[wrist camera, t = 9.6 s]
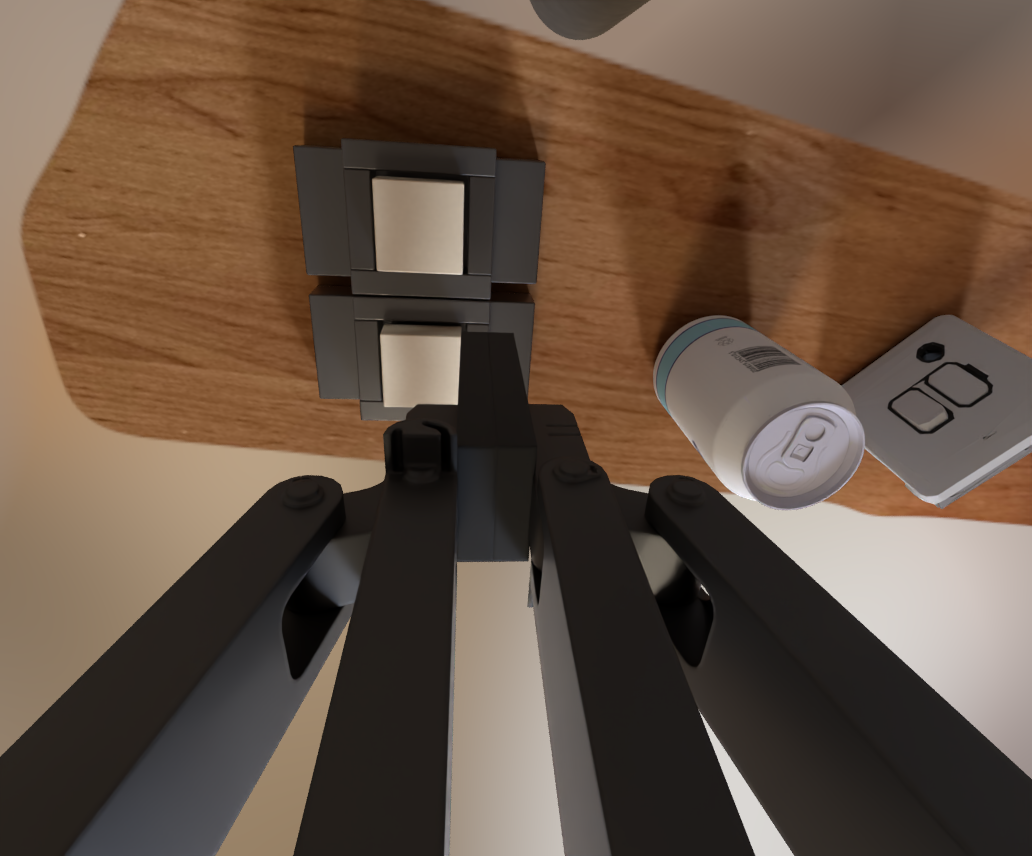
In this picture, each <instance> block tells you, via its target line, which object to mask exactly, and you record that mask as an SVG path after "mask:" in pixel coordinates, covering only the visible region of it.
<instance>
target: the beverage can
mask: <svg viewBox="0 0 1032 856" xmlns="http://www.w3.org/2000/svg"><path fill="white" fill-rule="evenodd" d="M653 383H654V389H655V392H656V395H657V397H658V399H659V401H660V402H661V404H662V405H663V406H664V408H665V409H666V410H667V411H668V413H669V414H670V415H671V417H672V418H673V419H674V421H675V422H676V423H677V425H678V426H679V427H680V428H681V430H682V431H683V432H684V434H685V435H686V436H687V438H688V439H689V440H690V442H691V443H692V444H693V446H694V447H695V448H696V449H697V451H698V452H699V453H700V455H701V456H702V457H703V459H704V460H705V461H706V463H707V464H708V465H709V466H710V468H711V469H712V470H713V472H714V473H715V474H716V476H717V477H718V478H719V480H720V481H721V482H722V483H723V484H724V485H725V486H726V487H727V488H728V489H729V490H730V491H732V492H733V493H735V494H737V495H738V496H741V497H743V498H746V499H749V500H753V501H758V502H759V503H761V504H762V505H764V506H767V507H770V508H773V509H778V510H796V509H802V508H805V507H809V506H812V505H814V504H817V503H819V502H821V501H823V500H825V499H827V498H829V497H830V496H832V495H833V494H834V493H836V492H837V491H838V490H840V489H841V488H842V487H843V486H844V485H845V484H846V483H847V482H848V481H849V479H850V478H851V477H852V476H853V474H854V473H855V471H856V470H857V468H858V466H859V464H860V462H861V459H862V457H863V453H864V448H865V434H864V430H863V427H862V425H861V423H860V421H859V420H858V418H857V417H856V412H855V408H854V404H853V402H852V400H851V398H850V396H849V395H848V393H847V392H846V390H845V389H844V388H843V387H842V386H841V385H840V384H838V383H837V382H836V381H834V380H833V379H831V378H830V377H828V376H827V375H825V374H823V373H822V372H820V371H819V370H817V369H816V368H814V367H813V366H811V365H809V364H808V363H806V362H805V361H803V360H802V359H800V358H799V357H797V356H795V355H794V354H792V353H791V352H789V351H788V350H786V349H785V348H783V347H781V346H780V345H778V344H777V343H775V342H774V341H772V340H771V339H769V338H767V337H766V336H764V335H763V334H761V333H760V332H758V331H757V330H755V329H753V328H752V327H750V326H749V325H747V324H746V323H744V322H743V321H741V320H739V319H736V318H733V317H729V316H722V315H715V316H707V317H703V318H700V319H697V320H694V321H692V322H690V323H688V324H686V325H685V326H683V327H682V328H680V329H679V330H678V331H676V332H675V333H674V334H673V335H672V336H671V337H670V338H669V339H668V340H667V342H666V343H665V344H664V346H663V347H662V349H661V351H660V353H659V355H658V357H657V359H656V362H655V366H654V372H653Z"/></svg>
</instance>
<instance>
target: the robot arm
mask: <svg viewBox="0 0 1032 856" xmlns="http://www.w3.org/2000/svg"><path fill="white" fill-rule="evenodd" d="M383 438H384V453H385V468H386V475H385V479H384V481H383V482H381V483H380V484H378V485H376V486H373V487H371V488H368V489H363V490H360V491H355V492H349V493H344V494H343V491H342V487H341V485H340V484H339V483H338V482H336V481H335V480H334V479H331V478H328V477H324V476H313V475H312V476H311V475H305V476H298V477H294V478H290V479H288V480H285V481H283V482H280V483H278V484H276V485H275V486H274V487H272V488H271V489H269V490H268V491H267V492H266V493H265V494H264V495H263V496H262V497H261V498H260V499H259V500H258V501H257V502H256V503H255V504H254V505H253V506H252V507H251V508H250V509H249V510H248V511H247V512H246V513H245V514H244V515H243V516H242V517H241V518H240V519H239V520H238V521H237V522H236V523H235V524H234V525H233V526H232V527H231V528H230V529H229V530H228V531H227V532H226V533H225V534H224V535H223V536H222V537H221V538H220V539H219V540H218V541H217V542H216V543H215V544H214V545H213V546H212V547H211V548H210V549H209V550H208V551H207V552H206V553H205V554H204V555H203V556H202V557H201V558H200V559H199V560H198V561H197V562H196V563H195V564H194V565H193V566H192V567H191V568H190V569H189V570H188V571H187V572H186V573H185V574H184V575H183V576H182V577H181V578H180V579H178V580H177V581H176V583H174V585H172V587H170V588H169V590H167V591H166V592H165V593H164V594H163V595H162V597H161V598H159V599H158V600H157V601H156V602H155V603H154V604H153V605H152V606H151V607H150V608H149V609H148V610H147V611H146V612H145V614H144V615H142V616H141V617H140V618H139V619H138V620H137V621H136V622H135V623H134V624H133V626H132V627H130V628H129V629H128V630H127V631H126V632H125V633H124V634H123V635H122V636H121V637H120V638H119V639H118V640H117V641H116V642H115V643H114V644H113V645H112V646H111V647H110V648H109V649H108V650H107V651H106V652H105V653H104V654H103V655H102V656H101V657H100V658H99V659H98V660H97V661H96V662H95V663H94V664H93V665H92V666H91V667H90V668H89V669H88V670H87V671H86V672H85V673H84V674H83V675H82V676H81V677H80V678H79V679H78V680H77V681H76V682H75V683H74V684H73V685H72V686H71V687H70V688H69V689H68V690H67V691H66V692H65V693H64V694H63V695H62V696H61V697H60V698H59V699H58V700H57V701H56V702H55V703H54V704H53V705H52V706H51V707H50V708H49V709H48V710H47V711H46V712H45V713H44V714H43V715H42V716H41V717H40V718H39V719H38V720H37V721H36V722H35V723H34V724H33V725H32V726H31V727H30V728H29V729H28V730H27V731H26V732H25V733H24V734H23V735H22V736H21V737H20V738H19V739H18V740H17V741H16V742H15V743H14V744H13V745H12V746H11V747H10V748H9V749H8V750H7V751H6V752H5V753H4V754H3V755H2V756H1V757H0V856H215V855H216V853H217V852H218V850H219V848H220V846H221V845H222V843H223V841H224V839H225V838H226V836H227V834H228V832H229V830H230V828H231V827H232V825H233V823H234V822H235V820H236V818H237V816H238V815H239V813H240V811H241V809H242V807H243V806H244V804H245V802H246V801H247V799H248V797H249V795H250V793H251V792H252V790H253V788H254V786H255V785H256V783H257V781H258V779H259V778H260V776H261V774H262V772H263V770H264V769H265V767H266V765H267V763H268V762H269V760H270V758H271V756H272V755H273V753H274V751H275V749H276V748H277V746H278V744H279V742H280V741H281V739H282V737H283V735H284V733H285V732H286V730H287V728H288V726H289V725H290V723H291V721H292V719H293V718H294V716H295V714H296V712H297V710H298V709H299V707H300V705H301V703H302V702H303V700H304V698H305V696H306V695H307V693H308V691H309V689H310V687H311V686H312V684H313V682H314V681H315V679H316V677H317V675H318V673H319V671H320V670H321V668H322V666H323V665H324V663H325V661H326V659H327V657H328V656H329V654H330V652H331V651H332V649H333V647H334V645H335V644H336V642H337V640H338V638H339V636H340V635H341V633H342V631H343V629H344V628H345V626H346V624H347V622H348V620H349V619H350V617H351V619H350V623H349V627H348V632H347V636H346V640H345V644H344V648H343V652H342V656H341V660H340V665H339V669H338V673H337V677H336V681H335V685H334V690H333V694H332V698H331V702H330V706H329V710H328V714H327V719H326V722H325V727H324V731H323V735H322V739H321V743H320V747H319V752H318V755H317V760H316V764H315V768H314V772H313V776H312V781H311V784H310V789H309V793H308V797H307V801H306V805H305V809H304V813H303V818H302V822H301V826H300V830H299V834H298V838H297V842H296V847H295V851H294V855H293V856H449V853H450V852H449V851H450V816H451V779H452V741H453V705H454V669H455V632H456V631H455V630H456V595H457V592H456V591H457V562H493V561H494V562H498V561H499V562H501V561H502V562H504V561H528V558H529V547H530V550H531V558H532V559H531V570H530V582H529V594H528V606H527V607H534V616H535V624H536V632H537V639H538V648H539V656H540V664H541V671H542V679H543V687H544V695H545V703H546V710H547V719H548V727H549V735H550V742H551V750H552V757H553V766H554V774H555V782H556V790H557V798H558V806H559V813H560V821H561V829H562V836H563V845H564V853H565V856H755V854H754V852H753V849H752V846H751V844H750V841H749V839H748V836H747V833H746V831H745V828H744V826H743V823H742V820H741V818H740V815H739V813H738V810H737V808H736V805H735V803H734V800H733V797H732V795H731V792H730V790H729V787H728V784H727V782H726V779H725V777H724V774H723V772H722V769H721V766H720V764H719V762H718V759H717V756H716V754H715V751H714V749H713V746H712V743H711V741H710V738H709V736H708V733H707V731H706V728H705V725H704V723H703V720H702V718H701V715H700V712H701V714H702V715H703V717H704V718H705V720H706V721H707V723H708V725H709V726H710V728H711V729H712V731H713V732H714V734H715V735H716V737H717V738H718V740H719V741H720V743H721V744H722V746H723V747H724V749H725V750H726V752H727V753H728V755H729V756H730V758H731V760H732V761H733V763H734V764H735V766H736V767H737V769H738V770H739V772H740V773H741V775H742V776H743V778H744V779H745V781H746V783H747V784H748V786H749V787H750V789H751V790H752V792H753V793H754V795H755V796H756V798H757V799H758V801H759V802H760V804H761V805H762V807H763V808H764V810H765V811H766V813H767V815H768V816H769V818H770V819H771V821H772V822H773V824H774V825H775V827H776V828H777V830H778V831H779V833H780V834H781V836H782V837H783V839H784V841H785V842H786V844H787V845H788V846H789V848H790V850H791V851H792V853H793V854H794V856H1032V779H1031V778H1030V777H1029V776H1027V775H1026V774H1025V773H1024V772H1023V771H1022V770H1021V769H1020V768H1019V767H1018V766H1017V765H1015V764H1014V763H1013V762H1012V761H1011V760H1010V759H1009V758H1008V757H1007V756H1006V755H1005V754H1004V753H1002V752H1001V751H1000V750H999V749H998V748H997V747H996V746H995V745H994V744H993V743H992V742H990V741H989V740H988V739H987V738H986V737H985V736H984V735H983V734H981V732H980V731H978V730H977V729H976V728H975V727H974V726H973V725H972V724H971V723H970V722H969V721H967V720H966V719H965V718H964V717H963V716H962V715H961V714H960V713H959V712H958V711H957V710H956V709H954V708H953V707H952V706H951V705H950V704H949V703H948V702H947V701H946V700H945V699H944V698H942V697H941V696H940V695H939V694H938V693H937V692H936V691H935V690H934V689H933V688H932V687H930V686H929V685H928V684H927V683H926V682H925V681H924V680H923V679H922V678H921V677H920V676H918V675H917V674H916V673H915V672H914V671H913V670H912V669H911V668H910V667H909V666H908V665H906V664H905V663H904V662H903V661H902V660H901V659H900V658H899V657H898V656H897V655H896V654H894V653H893V652H892V651H891V650H890V649H889V648H888V647H887V646H886V645H885V644H884V643H882V642H881V641H880V640H879V639H878V638H877V637H876V636H875V635H874V634H873V633H872V632H870V631H869V630H868V629H867V628H866V627H865V626H864V625H863V624H862V623H861V622H860V621H858V620H857V619H856V618H855V617H854V616H853V615H852V614H851V613H850V612H849V611H848V610H846V609H845V608H844V607H843V606H842V605H841V604H840V603H839V602H838V601H837V600H836V599H834V598H833V597H832V596H831V595H830V594H829V593H828V592H827V591H826V590H825V589H824V588H823V587H821V586H820V585H819V584H818V583H817V582H816V581H815V580H814V579H813V578H812V577H811V576H809V575H808V574H807V573H806V572H805V571H804V570H803V569H802V568H801V567H800V566H799V565H797V564H796V563H795V562H794V561H793V560H792V559H791V558H790V557H789V556H788V555H787V554H785V553H784V552H783V551H782V550H781V549H780V548H779V547H778V546H777V545H776V544H775V543H773V542H772V541H771V540H770V539H769V538H768V537H767V536H766V535H765V534H764V533H762V532H761V531H760V530H759V529H758V528H757V527H756V526H755V525H754V524H753V523H752V522H750V521H749V520H748V519H747V518H746V517H745V516H744V515H743V514H742V513H741V512H740V511H738V510H737V509H736V508H735V507H734V506H733V505H732V504H731V503H730V502H728V501H727V499H725V498H724V497H723V496H722V495H721V494H720V493H719V492H718V491H717V490H715V489H714V488H713V487H711V486H710V485H708V484H707V483H705V482H702V481H700V480H697V479H695V478H693V477H688V476H687V477H685V476H682V475H671V476H663V477H660V478H657V479H655V480H654V481H653V482H652V483H651V484H650V488H649V493H643V492H637V491H633V490H628V489H624V488H621V487H617V486H615V485H613V484H610V481H609V478H608V476H607V474H606V472H605V471H604V470H603V468H602V467H601V466H599V465H598V464H596V463H594V462H593V461H590V459H589V456H588V453H587V450H586V447H585V445H584V442H583V439H582V436H581V434H580V431H579V428H578V427H577V422H576V420H575V417H574V414H573V413H571V412H570V411H569V410H568V409H567V408H565V407H564V406H563V405H547V404H528V399H527V394H526V389H525V385H524V380H523V375H522V370H521V366H520V361H519V356H518V351H517V347H516V342H515V337H514V333H500V332H464V331H461V346H460V367H459V388H458V405H453V404H417V405H416V406H415V407H413V408H412V409H411V410H410V411H409V412H408V413H407V414H406V419H405V420H404V421H400V422H397V423H395V424H393V425H392V426H390V427H388V428H387V430H386V431H385V432H384V434H383ZM701 584H702V585H703V586H704V587H705V589H706V591H707V592H708V594H709V595H708V594H706V592H705V591H704V590H703V589H702V587H701ZM698 709H699V710H698ZM699 711H700V712H699Z"/></svg>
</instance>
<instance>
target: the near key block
mask: <svg viewBox="0 0 1032 856" xmlns="http://www.w3.org/2000/svg"><path fill="white" fill-rule="evenodd" d="M293 151H294V160H295V170H296V179H297V189H298V198H299V207H300V217H301V226H302V235H303V245H304V254H305V264H306V273H307V274H308V275H323V276H348V277H351V288H352V294H365V295H392V296H418V297H445V298H472V299H490V298H491V282H495V283H519V284H536V282H537V269H538V256H539V243H540V230H541V217H542V204H543V191H544V177H545V164H546V163H545V162H544V161H540V160H530V159H514V158H499V157H496V151H497V150H496V149H495V148H487V147H472V146H457V145H442V144H427V143H412V142H397V141H382V140H367V139H352V138H342V139H341V147H329V146H314V145H295V146H293ZM377 176H390V177H407V178H423V179H440V180H457V181H463V182H464V225H463V274H462V275H455V274H431V273H407V272H383V271H377V267H376V248H375V228H374V208H373V189H372V178H375V177H377Z"/></svg>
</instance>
